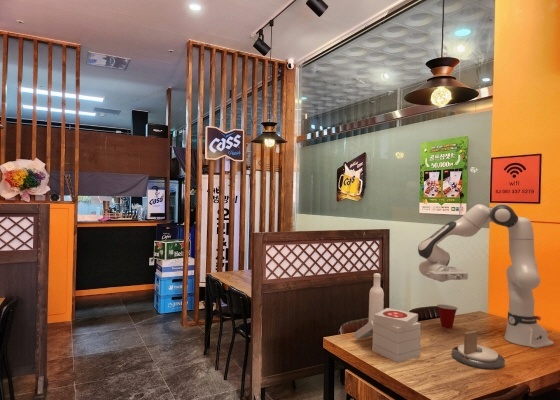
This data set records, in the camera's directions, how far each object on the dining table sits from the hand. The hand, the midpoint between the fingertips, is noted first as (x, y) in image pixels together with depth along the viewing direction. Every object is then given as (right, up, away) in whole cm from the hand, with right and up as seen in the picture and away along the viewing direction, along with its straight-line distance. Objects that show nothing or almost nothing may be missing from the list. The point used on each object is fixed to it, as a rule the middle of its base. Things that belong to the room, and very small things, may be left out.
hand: (458, 278), depth 193 cm
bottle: (-38, -31, +17) cm, 52 cm away
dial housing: (-2, -32, -22) cm, 39 cm away
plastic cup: (+4, -32, +23) cm, 40 cm away
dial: (-2, -30, -22) cm, 37 cm away
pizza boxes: (-40, -31, -13) cm, 53 cm away
